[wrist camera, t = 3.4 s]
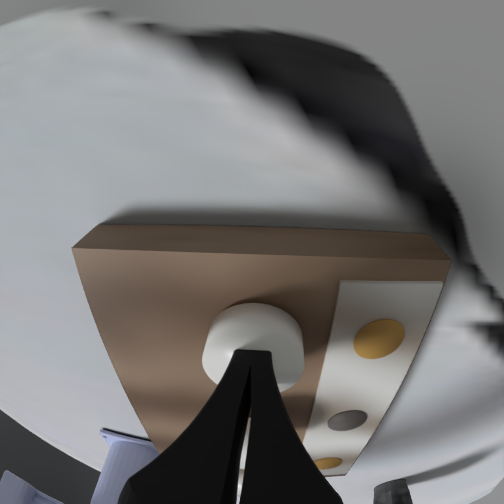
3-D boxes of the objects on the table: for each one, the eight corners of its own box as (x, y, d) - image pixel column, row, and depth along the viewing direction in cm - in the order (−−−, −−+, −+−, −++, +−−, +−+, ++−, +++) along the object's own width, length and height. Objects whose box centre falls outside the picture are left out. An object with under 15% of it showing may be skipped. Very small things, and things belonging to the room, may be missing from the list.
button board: (343, 452, 23) (345, 478, 21) (171, 443, 25) (165, 468, 22) (428, 234, 13) (454, 264, 11) (97, 224, 14) (68, 251, 12)
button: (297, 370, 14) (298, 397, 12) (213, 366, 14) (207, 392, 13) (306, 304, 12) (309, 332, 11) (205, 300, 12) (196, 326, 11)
